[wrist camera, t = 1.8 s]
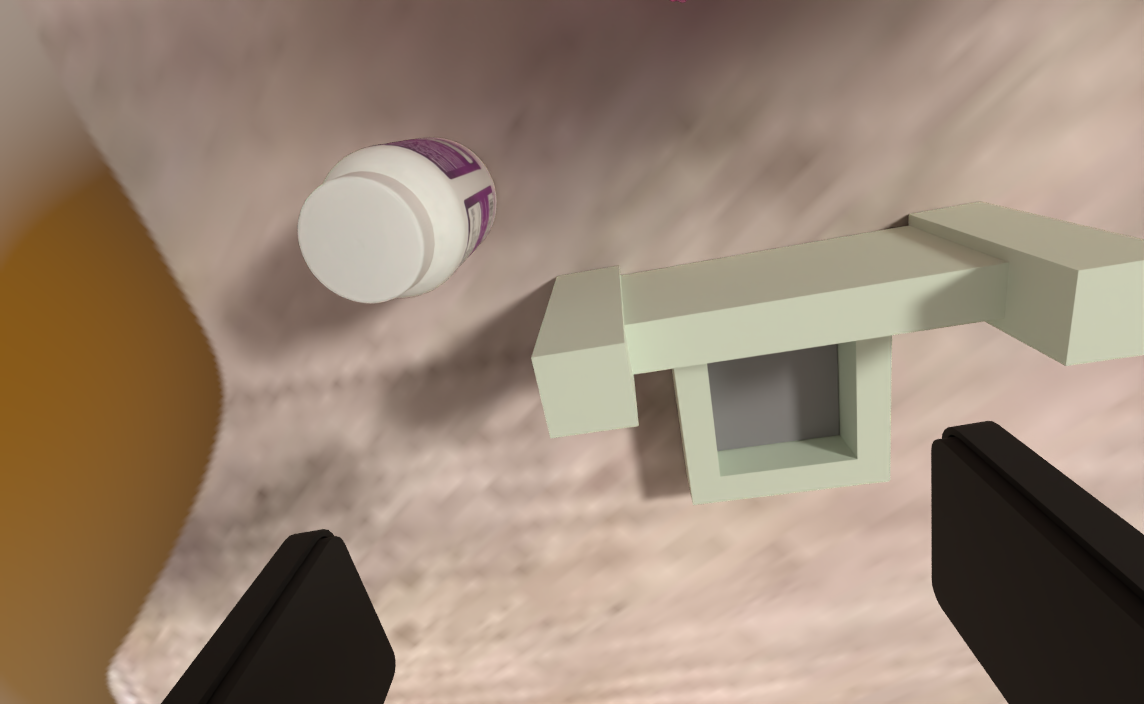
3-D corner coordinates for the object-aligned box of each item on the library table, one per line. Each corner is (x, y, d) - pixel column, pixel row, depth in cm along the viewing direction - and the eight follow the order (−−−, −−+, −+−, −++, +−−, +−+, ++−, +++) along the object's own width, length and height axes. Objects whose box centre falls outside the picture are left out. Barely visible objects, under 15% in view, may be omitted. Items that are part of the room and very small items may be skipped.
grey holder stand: (556, 276, 28) (531, 357, 18) (980, 201, 25) (1196, 251, 16) (601, 487, 32) (598, 638, 23) (964, 441, 30) (1126, 588, 20)
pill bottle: (361, 179, 26) (234, 212, 17) (452, 112, 25) (366, 110, 16) (432, 277, 28) (350, 353, 19) (522, 218, 27) (478, 270, 18)
